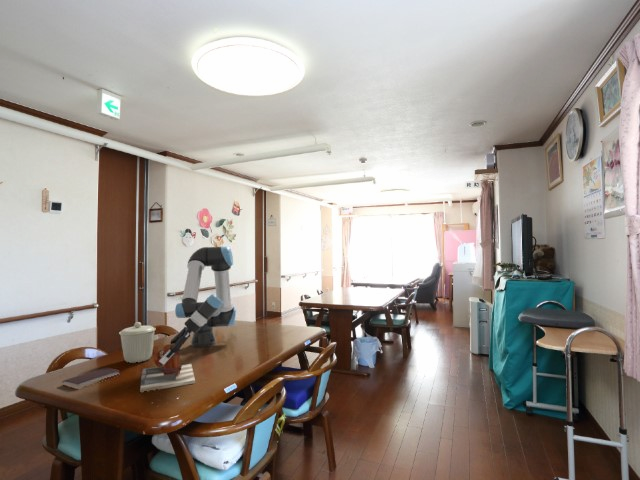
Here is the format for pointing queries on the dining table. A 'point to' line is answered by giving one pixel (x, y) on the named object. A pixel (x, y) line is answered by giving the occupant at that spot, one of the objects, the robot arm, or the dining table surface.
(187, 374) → the notched board
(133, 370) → the dining table surface
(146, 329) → the canister
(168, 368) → the mug
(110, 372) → the book
